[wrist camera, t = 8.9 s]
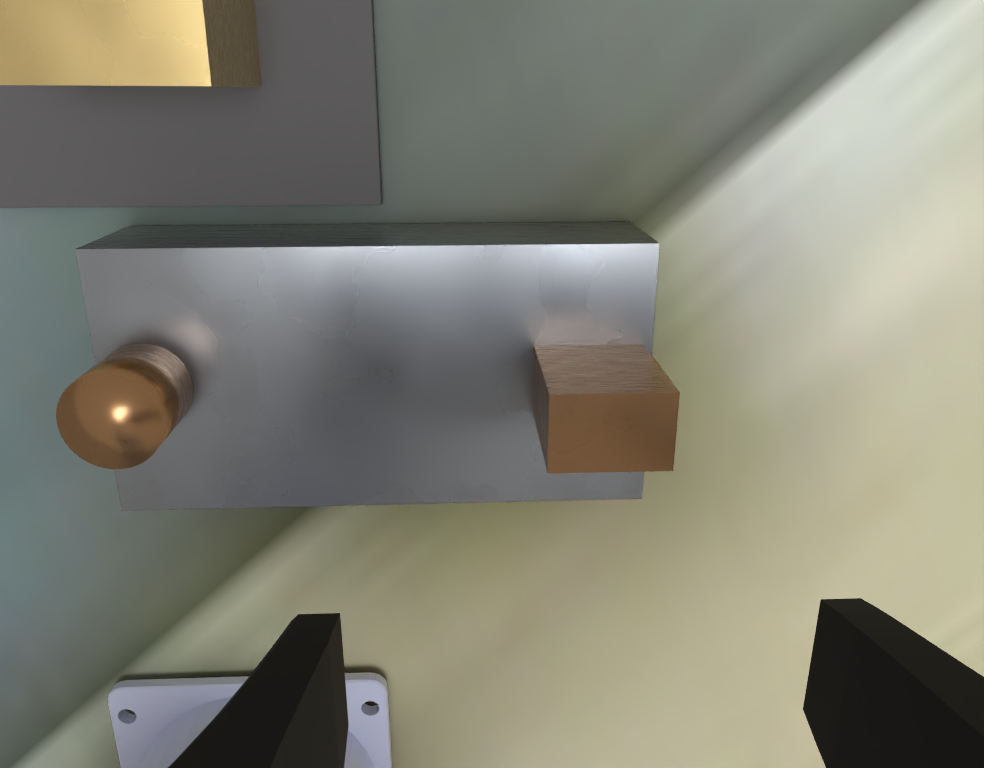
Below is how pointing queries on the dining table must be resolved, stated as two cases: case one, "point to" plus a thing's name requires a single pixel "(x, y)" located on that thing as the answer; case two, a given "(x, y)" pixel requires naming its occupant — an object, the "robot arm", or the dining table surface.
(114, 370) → the body
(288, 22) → the mat
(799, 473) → the dining table surface
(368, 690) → the robot arm
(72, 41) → the tan cube
